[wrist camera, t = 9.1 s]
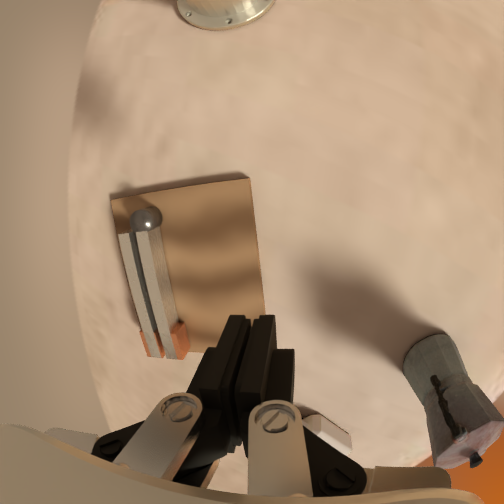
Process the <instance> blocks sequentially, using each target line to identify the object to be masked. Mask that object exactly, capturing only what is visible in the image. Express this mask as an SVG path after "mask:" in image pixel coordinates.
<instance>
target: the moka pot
mask: <svg viewBox="0 0 504 504" xmlns="http://www.w3.org/2000/svg"><path fill="white" fill-rule="evenodd" d="M403 374H404V376H405V377H406V379H407V380H408V382H409V384H410V385H411V387H412V389H413V390H414V392H415V393H416V395H417V397H418V398H419V400H420V402H421V403H422V405H423V406H424V409H425V412H426V415H427V427H428V432H429V437H430V443H431V449H432V457H433V463H434V467H440V468H442V469H444V468H445V469H446V468H454V467H457V466H459V465H461V464H463V463H465V462H467V461H470V468H474V467H477V466H478V465H479V464H481V463H482V461H483V460H482V458H481V457H480V456H481V455H483V454H484V453H485V451H486V449H487V448H488V447H489V446H490V445H491V444H492V443H493V442H495V441H496V440H497V439H498V438H499V436H500V434H501V432H502V429H503V427H504V418H503V417H502V416H501V414H500V413H499V412H498V410H497V409H496V407H495V406H494V405H493V404H492V402H491V401H490V400H489V399H488V397H487V396H486V395H485V394H484V393H483V391H482V390H481V389H480V388H479V386H478V385H475V384H473V383H472V381H471V379H470V378H469V377H468V374H467V371H466V369H465V366H464V364H463V361H462V359H461V356H460V354H459V351H458V349H457V347H456V345H455V343H454V342H453V340H452V339H451V337H450V336H448V335H444V334H437V335H433V336H429V337H427V338H425V339H423V340H421V341H420V342H418V343H416V344H415V345H414V346H413V347H412V349H411V350H410V351H409V353H408V354H407V356H406V358H405V360H404V364H403Z"/></svg>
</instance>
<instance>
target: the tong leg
mask: <svg viewBox="0 0 504 504" xmlns="http://www.w3.org/2000/svg"><path fill="white" fill-rule="evenodd" d="M162 220H163V217H162V213H161V211H160V210H159V209H158V208H157V207H154V206H149V207H146V208H143V209H140V210H137V211H135V212H133V213H132V215H131V216H130V227H131V229H132V230H133V231H134V232H135V233H136V237H137V242H138V247H139V252H140V257H141V262H142V267H143V271H144V276H145V280H146V284H147V289H148V293H149V297H150V301H151V305H152V309H153V312H154V316H155V320H156V324H157V327H158V331H159V334H160V338H161V341H162V344H163V348H164V351H165V354H166V357H167V358H168V359H179V360H183V359H184V357H185V356H186V354H187V352H188V351H189V349H190V343H189V339H188V335H187V330H186V326H185V322H179V320H178V315H177V311H176V307H175V302H174V298H173V294H172V289H171V284H170V279H169V275H168V270H167V265H166V259H165V254H164V249H163V243H162V238H161V232H160V225H161V224H162Z"/></svg>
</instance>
